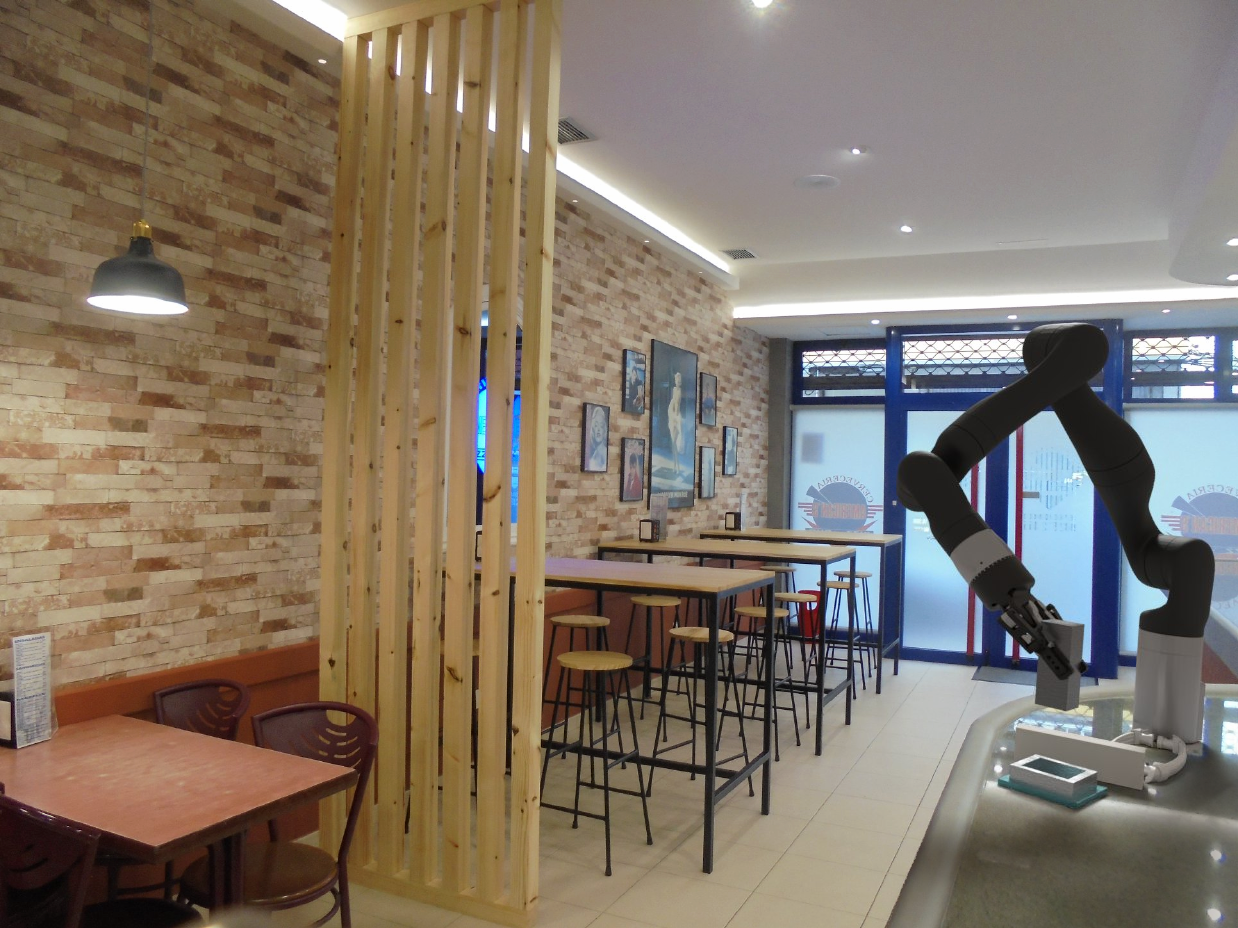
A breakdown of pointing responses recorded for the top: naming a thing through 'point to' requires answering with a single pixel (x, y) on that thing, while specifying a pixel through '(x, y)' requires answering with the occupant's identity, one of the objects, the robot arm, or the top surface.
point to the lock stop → (1071, 647)
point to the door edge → (1084, 754)
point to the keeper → (1054, 781)
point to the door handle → (1177, 745)
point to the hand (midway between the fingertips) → (1075, 674)
